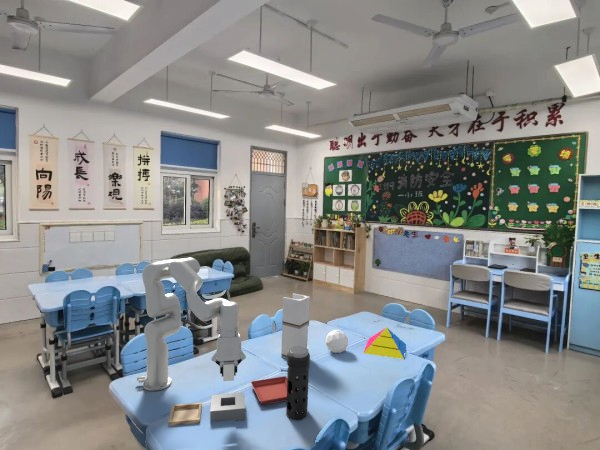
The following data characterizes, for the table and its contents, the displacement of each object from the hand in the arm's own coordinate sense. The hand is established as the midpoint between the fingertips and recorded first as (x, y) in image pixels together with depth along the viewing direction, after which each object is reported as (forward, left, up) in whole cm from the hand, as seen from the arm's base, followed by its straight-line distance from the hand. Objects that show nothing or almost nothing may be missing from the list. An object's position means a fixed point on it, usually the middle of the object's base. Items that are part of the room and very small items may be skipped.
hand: (228, 374), depth 150 cm
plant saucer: (+21, +12, -18) cm, 30 cm away
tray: (-17, 0, -17) cm, 24 cm away
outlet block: (0, 0, -17) cm, 17 cm away
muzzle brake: (+29, -5, -17) cm, 34 cm away
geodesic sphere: (+64, +52, -17) cm, 84 cm away
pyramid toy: (+96, +53, -18) cm, 111 cm away
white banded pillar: (+38, +49, -17) cm, 64 cm away
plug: (0, 0, -2) cm, 2 cm away
